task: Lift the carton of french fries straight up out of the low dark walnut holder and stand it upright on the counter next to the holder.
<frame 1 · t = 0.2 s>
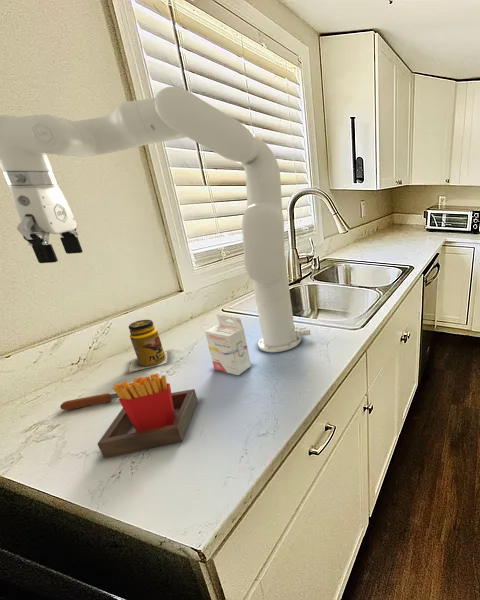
hand: (62, 257, 77), 31 cm above the worktop, tool pointing down, fingers open, 9 cm apart
kitchen knife: (106, 402, 75), on the worktop
condiment: (149, 362, 91), on the worktop
holder: (156, 426, 68), on the worktop
ink cartridge box: (233, 368, 88), on the worktop
french fries: (156, 427, 68), resting in holder
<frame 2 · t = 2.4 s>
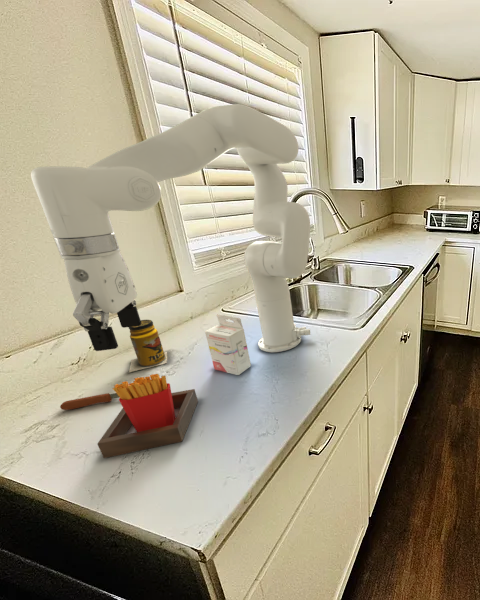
hand: (120, 336, 61), 21 cm above the worktop, tool pointing down, fingers open, 9 cm apart
nothing on the worktop moved.
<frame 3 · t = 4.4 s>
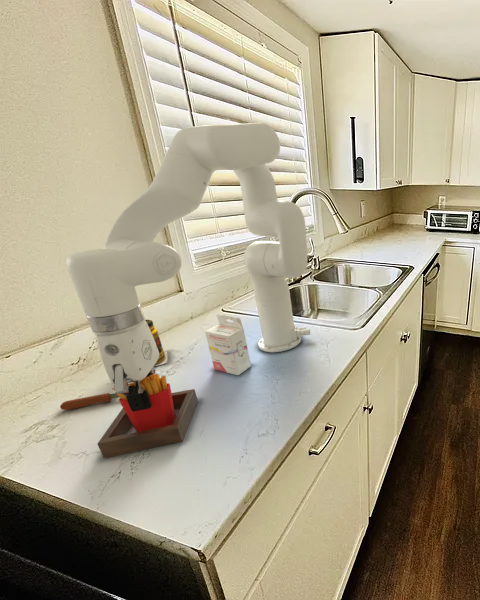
hand: (146, 400, 65), 7 cm above the worktop, tool pointing down, fingers closed on french fries, 4 cm apart
french fries: (156, 427, 68), resting in holder, touching gripper
everything else where it was.
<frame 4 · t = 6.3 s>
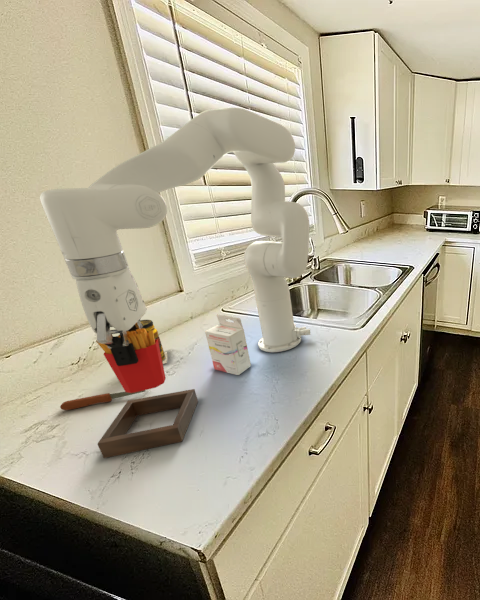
hand: (133, 356, 62), 17 cm above the worktop, tool pointing down, fingers closed on french fries, 4 cm apart
french fries: (145, 386, 65), point 10 cm above the worktop, touching gripper
everything else where it was.
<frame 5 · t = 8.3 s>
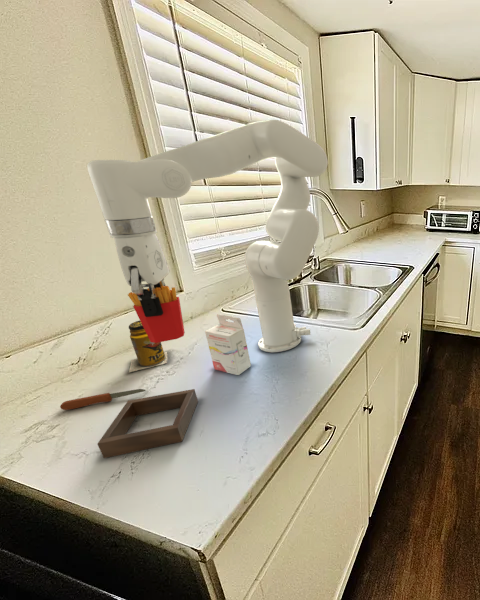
hand: (158, 310, 71), 21 cm above the worktop, tool pointing down, fingers closed on french fries, 4 cm apart
french fries: (167, 338, 74), point 14 cm above the worktop, touching gripper
everything else where it was.
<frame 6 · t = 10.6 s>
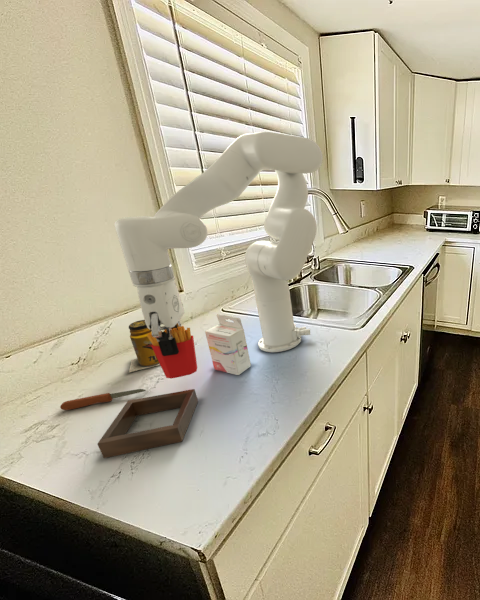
hand: (174, 348, 77), 11 cm above the worktop, tool pointing down, fingers closed on french fries, 4 cm apart
french fries: (181, 373, 79), point 4 cm above the worktop, touching gripper
everything else where it was.
when the fingers open (7 cm above the worktop, at t = 12.0 s): french fries stays where it is, on the worktop.
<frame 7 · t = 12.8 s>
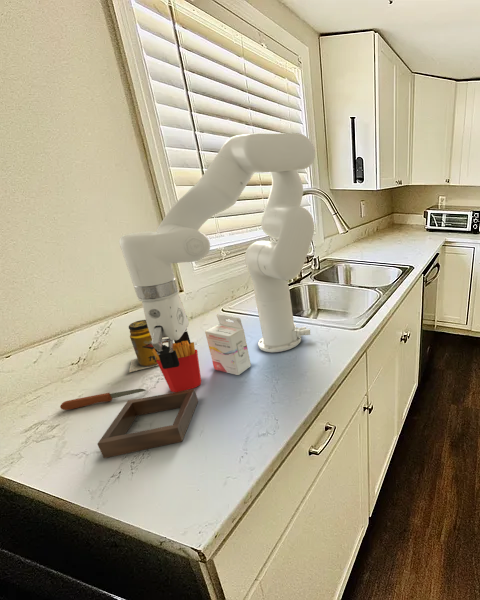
hand: (178, 356, 78), 8 cm above the worktop, tool pointing down, fingers open, 9 cm apart
french fries: (185, 386, 81), on the worktop
everything else where it was.
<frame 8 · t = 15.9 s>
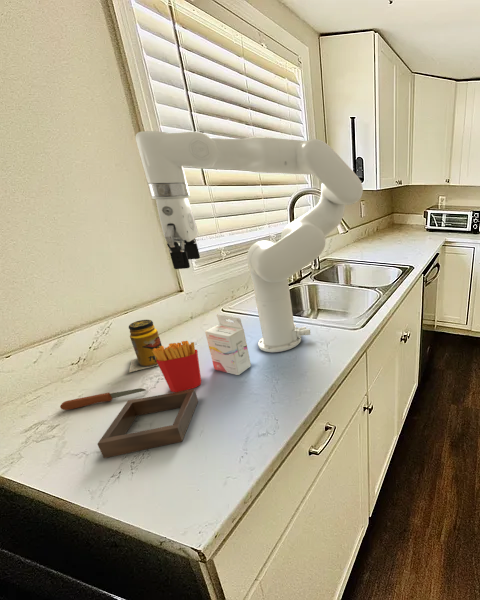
hand: (188, 263, 81), 28 cm above the worktop, tool pointing down, fingers open, 9 cm apart
nothing on the worktop moved.
at the end: french fries inside the target area (0.1 cm from its centre), on the worktop; french fries tilted 0°; the gripper is holding nothing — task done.
